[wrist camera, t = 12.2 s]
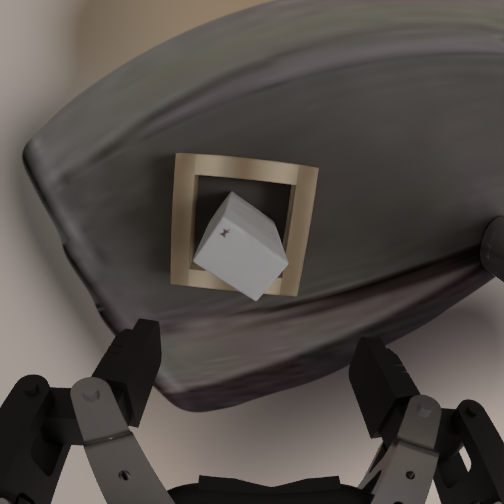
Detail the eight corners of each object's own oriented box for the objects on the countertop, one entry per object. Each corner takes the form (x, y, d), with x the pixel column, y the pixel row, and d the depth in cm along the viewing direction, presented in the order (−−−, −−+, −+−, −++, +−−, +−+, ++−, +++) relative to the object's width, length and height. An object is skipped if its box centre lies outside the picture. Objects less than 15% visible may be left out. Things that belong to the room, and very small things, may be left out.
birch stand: (312, 166, 30) (318, 168, 28) (293, 284, 35) (296, 296, 32) (182, 152, 30) (176, 153, 27) (176, 272, 34) (170, 283, 32)
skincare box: (208, 221, 32) (188, 260, 21) (231, 190, 31) (221, 213, 20) (253, 251, 34) (256, 304, 22) (276, 222, 32) (291, 262, 21)
